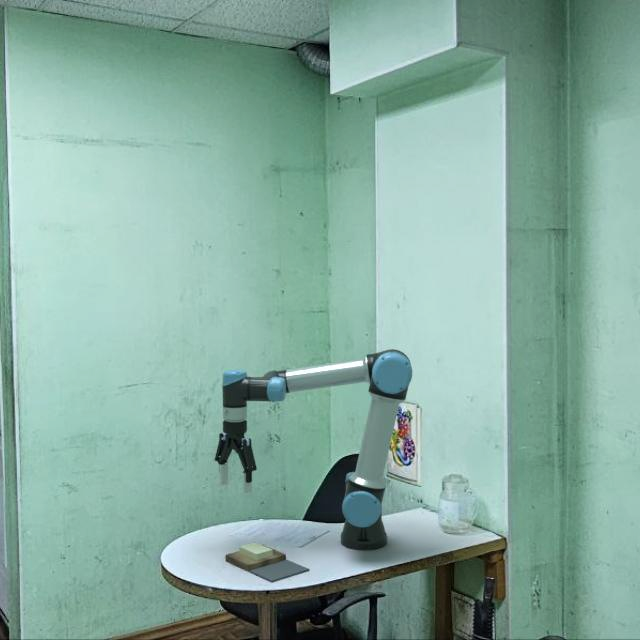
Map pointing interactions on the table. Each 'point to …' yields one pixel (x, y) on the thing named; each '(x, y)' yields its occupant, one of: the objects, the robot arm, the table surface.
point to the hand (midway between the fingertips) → (235, 488)
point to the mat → (279, 570)
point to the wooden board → (252, 564)
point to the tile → (255, 551)
